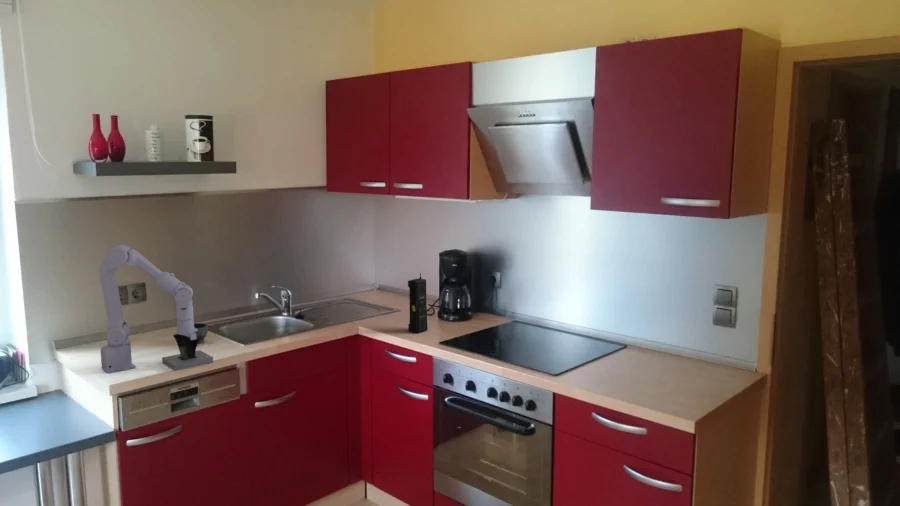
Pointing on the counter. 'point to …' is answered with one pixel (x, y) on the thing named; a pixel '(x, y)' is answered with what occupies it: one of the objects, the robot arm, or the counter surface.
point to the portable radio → (417, 305)
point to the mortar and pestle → (201, 331)
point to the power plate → (187, 361)
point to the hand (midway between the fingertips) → (187, 355)
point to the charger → (184, 353)
